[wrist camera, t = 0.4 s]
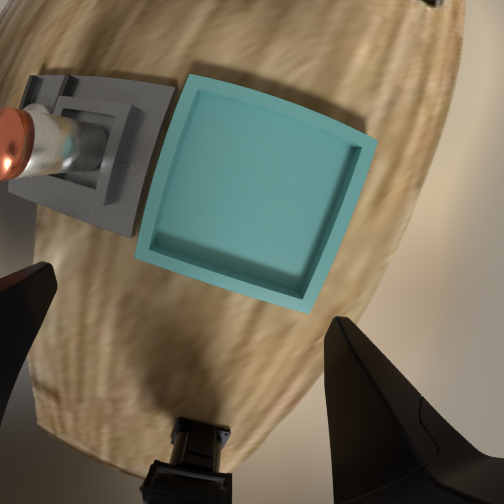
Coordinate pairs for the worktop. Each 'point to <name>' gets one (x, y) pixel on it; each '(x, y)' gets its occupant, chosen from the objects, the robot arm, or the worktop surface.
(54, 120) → the pin
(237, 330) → the worktop surface
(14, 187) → the block
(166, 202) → the tray
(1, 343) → the robot arm
